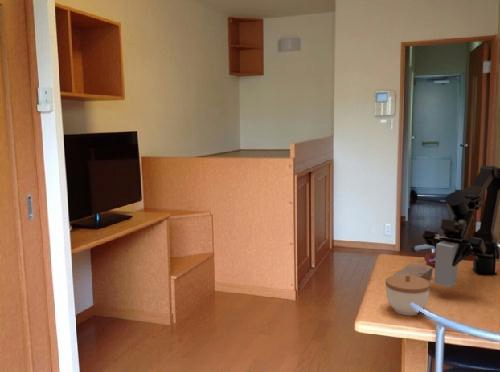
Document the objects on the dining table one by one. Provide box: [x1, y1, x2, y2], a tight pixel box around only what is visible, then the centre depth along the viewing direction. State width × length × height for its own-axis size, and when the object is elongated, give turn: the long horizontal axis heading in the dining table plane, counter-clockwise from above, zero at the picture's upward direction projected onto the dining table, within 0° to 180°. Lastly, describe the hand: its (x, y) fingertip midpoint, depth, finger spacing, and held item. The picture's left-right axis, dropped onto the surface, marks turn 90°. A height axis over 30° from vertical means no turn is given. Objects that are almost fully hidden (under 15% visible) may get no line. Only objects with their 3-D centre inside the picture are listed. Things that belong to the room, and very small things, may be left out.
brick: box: [392, 262, 434, 281], centre depth 165 cm, size 17×8×5 cm, turn 139°
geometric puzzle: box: [423, 248, 435, 268], centre depth 183 cm, size 7×7×8 cm
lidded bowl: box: [385, 275, 431, 316], centre depth 140 cm, size 13×13×11 cm
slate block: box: [433, 241, 459, 288], centre depth 149 cm, size 5×5×13 cm
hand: (444, 263), depth 148 cm, fingers closed on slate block, 5 cm apart
